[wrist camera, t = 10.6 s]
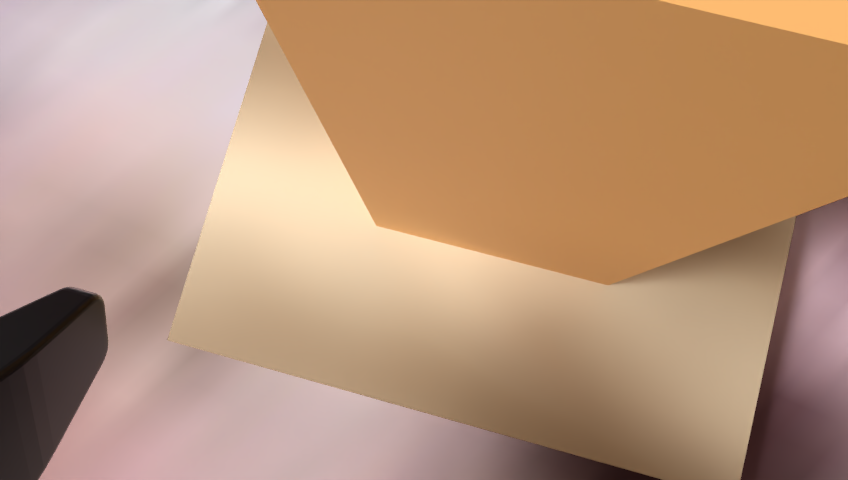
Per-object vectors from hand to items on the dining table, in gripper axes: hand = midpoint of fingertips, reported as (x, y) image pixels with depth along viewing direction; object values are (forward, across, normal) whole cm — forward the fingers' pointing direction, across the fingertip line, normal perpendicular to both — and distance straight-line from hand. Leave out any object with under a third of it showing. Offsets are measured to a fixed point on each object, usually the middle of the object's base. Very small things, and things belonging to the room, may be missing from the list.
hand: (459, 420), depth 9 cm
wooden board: (+9, 0, +2) cm, 9 cm away
